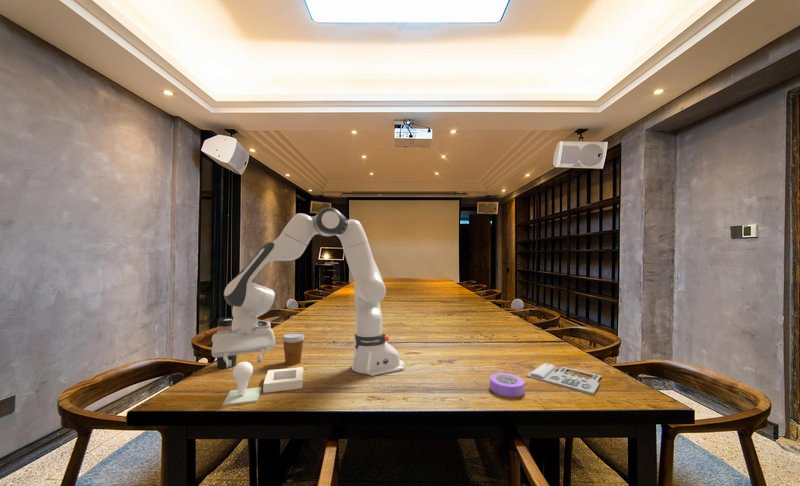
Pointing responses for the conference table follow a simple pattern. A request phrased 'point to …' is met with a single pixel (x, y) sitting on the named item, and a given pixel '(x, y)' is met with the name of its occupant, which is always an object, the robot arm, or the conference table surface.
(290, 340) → the disposable coffee cup
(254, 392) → the pad
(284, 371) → the block
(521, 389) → the masking tape
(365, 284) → the robot arm
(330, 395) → the conference table surface
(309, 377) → the conference table surface
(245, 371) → the lightbulb
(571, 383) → the office telephone
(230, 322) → the travel mug
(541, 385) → the conference table surface
